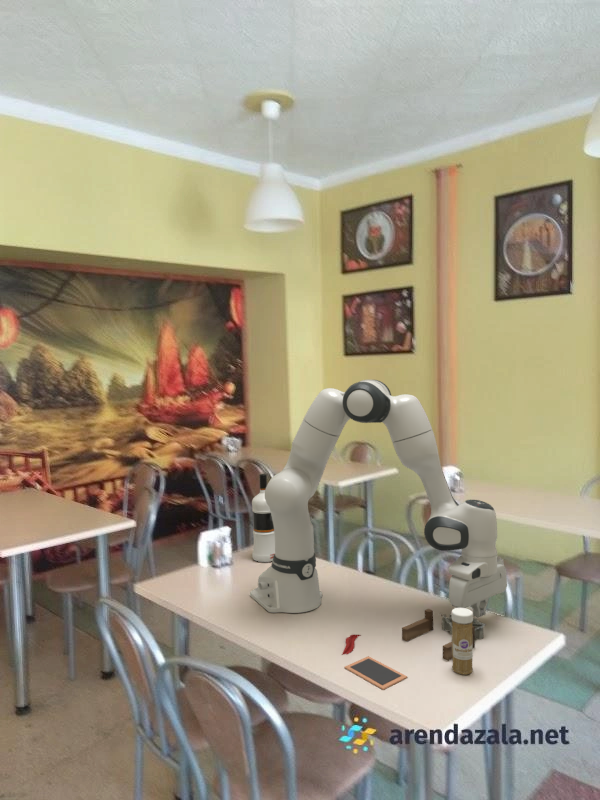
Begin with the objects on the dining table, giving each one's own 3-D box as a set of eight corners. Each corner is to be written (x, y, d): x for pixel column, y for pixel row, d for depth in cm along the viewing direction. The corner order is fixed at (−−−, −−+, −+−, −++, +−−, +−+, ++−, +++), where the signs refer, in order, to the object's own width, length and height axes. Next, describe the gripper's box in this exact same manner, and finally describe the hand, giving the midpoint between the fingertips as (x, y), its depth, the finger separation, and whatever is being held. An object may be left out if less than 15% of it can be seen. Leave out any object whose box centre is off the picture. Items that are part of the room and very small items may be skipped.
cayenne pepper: (355, 634, 155) (355, 627, 154) (371, 639, 152) (370, 631, 152) (328, 653, 145) (328, 645, 145) (344, 658, 142) (344, 650, 142)
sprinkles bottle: (457, 676, 132) (457, 616, 131) (448, 666, 137) (447, 607, 136) (477, 674, 133) (476, 614, 132) (467, 663, 138) (467, 605, 137)
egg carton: (437, 627, 157) (437, 612, 157) (461, 622, 160) (460, 606, 160) (463, 645, 147) (463, 628, 147) (488, 638, 150) (488, 622, 150)
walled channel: (402, 639, 150) (401, 619, 150) (428, 627, 156) (428, 608, 156) (447, 660, 139) (447, 639, 139) (474, 647, 145) (474, 626, 145)
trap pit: (344, 668, 137) (344, 666, 137) (368, 657, 142) (368, 655, 142) (383, 690, 128) (383, 688, 128) (407, 677, 132) (407, 676, 132)
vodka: (252, 555, 218) (250, 472, 216) (278, 553, 219) (276, 471, 217) (252, 563, 209) (249, 477, 207) (279, 562, 209) (276, 476, 207)
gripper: (492, 551, 166) (492, 601, 167) (444, 569, 153) (444, 622, 154) (513, 557, 161) (513, 608, 162) (465, 576, 149) (465, 631, 149)
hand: (479, 615), depth 158 cm, fingers closed
